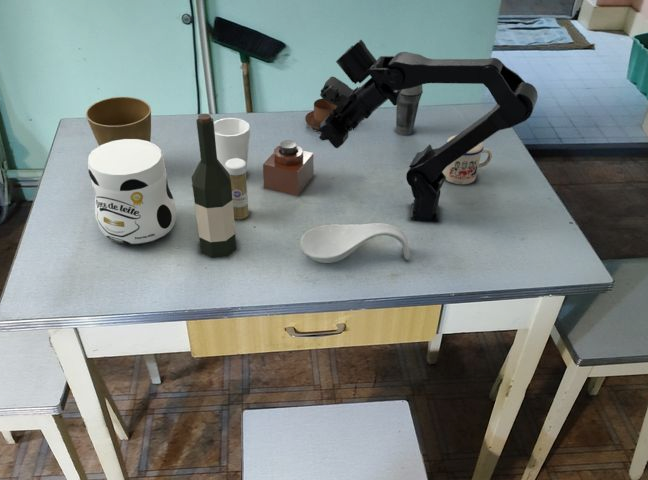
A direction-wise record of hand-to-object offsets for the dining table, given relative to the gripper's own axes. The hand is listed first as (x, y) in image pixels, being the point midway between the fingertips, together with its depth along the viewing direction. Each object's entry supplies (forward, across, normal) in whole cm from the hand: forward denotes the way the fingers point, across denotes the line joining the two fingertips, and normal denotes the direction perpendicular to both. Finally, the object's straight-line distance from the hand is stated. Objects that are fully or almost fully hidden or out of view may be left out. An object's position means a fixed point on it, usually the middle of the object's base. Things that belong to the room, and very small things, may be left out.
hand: (321, 138), depth 155 cm
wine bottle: (+18, +31, +1) cm, 36 cm away
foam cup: (+25, +3, -7) cm, 26 cm away
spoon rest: (-1, +22, +22) cm, 31 cm away
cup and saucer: (+18, -32, +1) cm, 37 cm away
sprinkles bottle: (+19, +18, 0) cm, 26 cm away
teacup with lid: (-11, -21, +32) cm, 40 cm away
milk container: (+31, +32, -13) cm, 47 cm away
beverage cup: (+3, -38, +17) cm, 42 cm away
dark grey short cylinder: (+10, 0, -2) cm, 10 cm away
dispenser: (+16, 0, +3) cm, 16 cm away
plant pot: (+42, +11, -25) cm, 50 cm away
